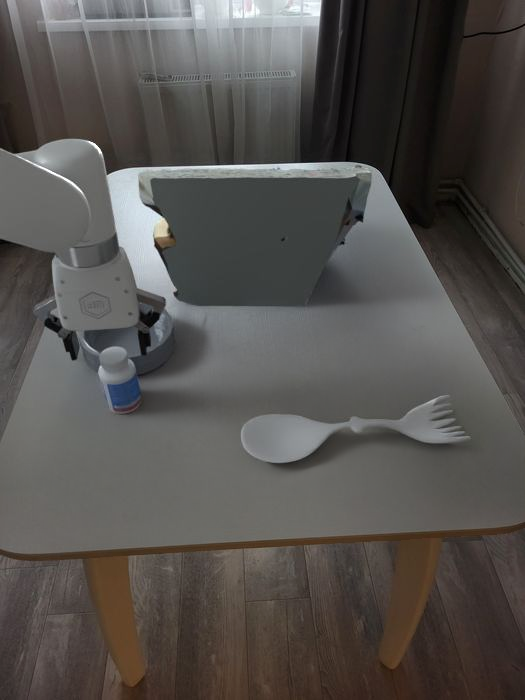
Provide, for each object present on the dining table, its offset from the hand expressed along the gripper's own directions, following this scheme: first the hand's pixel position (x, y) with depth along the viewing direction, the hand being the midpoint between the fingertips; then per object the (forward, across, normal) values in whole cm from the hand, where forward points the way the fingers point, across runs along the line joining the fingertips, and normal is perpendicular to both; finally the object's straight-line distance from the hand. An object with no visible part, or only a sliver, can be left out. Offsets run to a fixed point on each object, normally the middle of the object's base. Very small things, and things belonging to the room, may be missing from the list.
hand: (110, 351), depth 80 cm
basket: (+10, +25, +36) cm, 45 cm away
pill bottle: (+11, 0, 0) cm, 11 cm away
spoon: (+11, +34, -11) cm, 37 cm away
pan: (+10, +1, +14) cm, 17 cm away
